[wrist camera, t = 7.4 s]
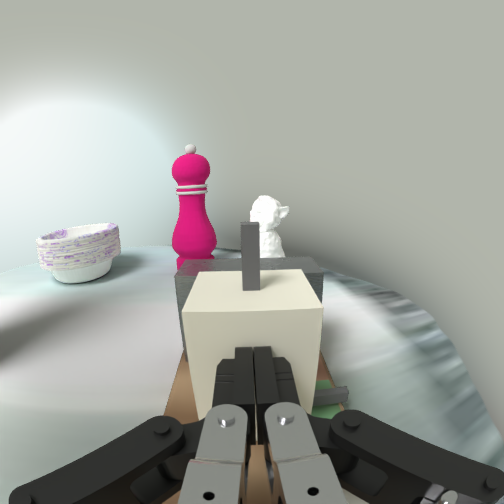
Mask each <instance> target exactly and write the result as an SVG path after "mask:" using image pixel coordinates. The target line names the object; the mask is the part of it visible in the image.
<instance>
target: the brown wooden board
mask: <svg viewBox="0 0 504 504" xmlns="http://www.w3.org/2000/svg"><path fill="white" fill-rule="evenodd" d="M329 388H335V385H334V383H333V380H332V378H331V376H330V373H329V371H328V368H327V366H326V363H325V361H324V358H323V356H322V354H321V351H319V360H318V368H317V376H316V384H315V390H320V389H329ZM343 410H344V408H343V405H342V403H334V404H326V405H318V406H312V412H311V415H312V416H315V417H320V418H328V419H332V418H333V416H334V415H335V414H337V413H338V412H340V411H343ZM164 416H170V417H173V418H175V419H177V420H178V421H179V422H180V423H181V424H187V423H192V422H196V421H199V418H198V413H197V408H196V402H195V397H194V392H193V386H192V380H191V374H190V368H189V362H186V360H185V354H184V350H183V354H182V357H181V360H180V363H179V366H178V369H177V373H176V376H175V379H174V382H173V386H172V389H171V392H170V396H169V399H168V402H167V406H166V409H165V412H164ZM342 490H343V493H344V496H345V498H346V501H347V503H348V504H369V503H367V502H365V501H364V500H362V499H360V498H358V497H357V496H355V495H353V494H351V493H350V492H348V491H346V490H345V489H343V488H342ZM180 492H181V490H180V491H178V492H177V493H176V494H174V495H173V496H172V497H170V498H169V499H167V500H166V501H165V502H163V503H162V504H178V500H179V496H180ZM247 504H271V496H270V491H269V486H268V480H267V475H266V469H265V464H264V445H258V441H256V445H251V457H250V464H249V477H248V490H247Z"/></svg>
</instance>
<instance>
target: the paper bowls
mask: <svg viewBox="0 0 504 504" xmlns="http://www.w3.org/2000/svg"><path fill="white" fill-rule="evenodd" d="M36 244H37V252H38V257H39V262H40V267H41V268H42V269H44V270H48V271H51V273H52V274H53V276H54V277H55V278H56V279H57V280H58V281H60V282H63V283H81V282H86V281H90V280H94V279H97V278H99V277H101V276H103V275H105V274H106V273H107V272H108V271H109V270H110V268H111V264H112V260H113V258H114V257H116V256H118V255H119V254H120V253H121V247H120V239H119V229H118V226H117V225H116V224H112V223H102V224H91V225H83V226H77V227H72V228H67V229H62V230H58V231H55V232H51V233H48V234H45V235H43V236H41V237H39V238H37V240H36Z"/></svg>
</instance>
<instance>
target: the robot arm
mask: <svg viewBox="0 0 504 504" xmlns="http://www.w3.org/2000/svg"><path fill="white" fill-rule="evenodd" d="M254 386H255V390H254ZM255 405H256V417H255ZM256 422H257V440H258V445H264V464H265V469H266V475H267V480H268V486H269V491H270V496H271V504H348V503H347V501H346V498H345V496H344V493H343V490H342V488H343V489H345V490H346V491H348V492H350V493H351V494H353V495H355V496H357V497H358V498H360V499H362V500H364V501H365V502H367V503H369V504H495V503H496V502H497V501H498V500H499V499H500V498H501V497H502V496H503V495H504V472H503V471H501V470H500V469H498V468H495V467H492V466H488V465H486V464H483V463H480V462H477V461H474V460H471V459H468V458H466V457H463V456H460V455H458V454H455V453H453V452H450V451H447V450H445V449H442V448H440V447H437V446H435V445H433V444H430V443H428V442H426V441H423V440H421V439H419V438H416V437H414V436H412V435H410V434H407V433H405V432H403V431H401V430H399V429H396V428H394V427H392V426H390V425H388V424H386V423H384V422H382V421H379V420H377V419H375V418H373V417H371V416H369V415H367V414H365V413H363V412H361V411H358V410H343V411H340V412H338V413H337V414H335V415H334V416H333V418H332V419H328V418H320V417H315V416H312V415H310V414H308V413H307V412H305V410H304V409H303V408H302V407H301V405H300V402H299V397H298V393H297V389H296V385H295V380H294V376H293V373H292V368H291V364H290V363H289V362H288V361H287V360H286V359H285V358H284V357H273V356H272V350H271V346H256V347H254V372H253V353H252V347H235V359H222V360H221V361H220V363H219V364H218V365H217V368H216V376H215V384H214V393H213V401H212V408H211V409H210V410H209V411H208V413H207V414H206V417H205V418H203V419H201V420H199V421H196V422H192V423H187V424H181V423H180V422H179V421H178V420H177V419H175V418H173V417H170V416H156V417H153V418H151V419H149V420H147V421H146V422H144V423H142V424H141V425H139V426H137V427H136V428H134V429H132V430H130V431H129V432H127V433H125V434H124V435H122V436H120V437H118V438H117V439H115V440H113V441H111V442H109V443H108V444H106V445H104V446H102V447H100V448H99V449H97V450H95V451H93V452H91V453H89V454H87V455H85V456H83V457H82V458H80V459H78V460H76V461H74V462H72V463H70V464H68V465H66V466H64V467H62V468H59V469H57V470H55V471H53V472H51V473H49V474H47V475H45V476H42V477H40V478H38V479H36V480H33V481H31V482H29V483H27V484H24V485H22V486H19V487H17V488H16V489H14V490H13V491H12V493H11V494H10V496H9V504H162V503H163V502H165V501H166V500H167V499H169V498H170V497H172V496H173V495H174V494H176V493H177V492H178V491H180V490H181V492H180V496H179V500H178V504H247V490H248V477H249V464H250V457H251V445H256Z"/></svg>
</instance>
